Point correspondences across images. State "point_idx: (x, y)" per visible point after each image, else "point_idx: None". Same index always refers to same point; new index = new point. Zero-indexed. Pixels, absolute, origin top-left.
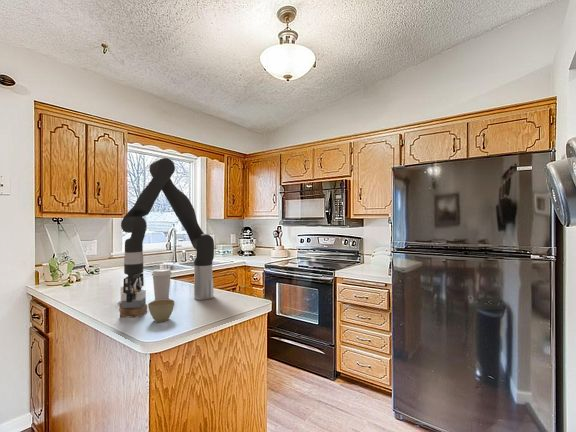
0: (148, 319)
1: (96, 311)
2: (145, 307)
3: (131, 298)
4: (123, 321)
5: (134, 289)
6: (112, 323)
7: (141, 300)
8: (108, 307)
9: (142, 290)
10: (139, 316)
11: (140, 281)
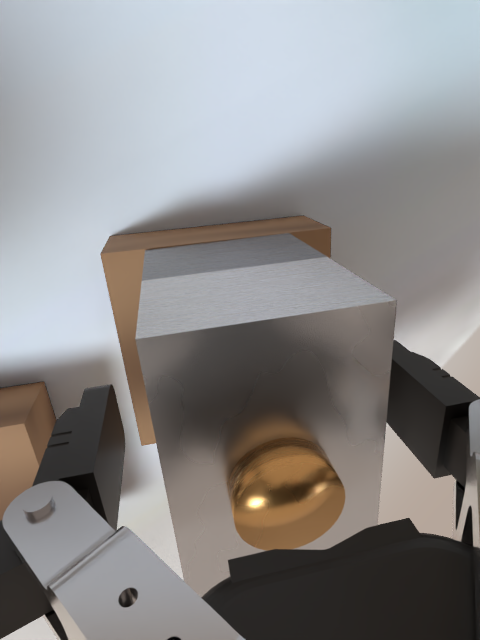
0: (396, 65)
1: None
2: (155, 242)
3: (419, 362)
4: (416, 284)
5: (326, 481)
6: (447, 336)
7: (303, 257)
8: None
9: (243, 352)
10: (300, 216)
11: (160, 636)
